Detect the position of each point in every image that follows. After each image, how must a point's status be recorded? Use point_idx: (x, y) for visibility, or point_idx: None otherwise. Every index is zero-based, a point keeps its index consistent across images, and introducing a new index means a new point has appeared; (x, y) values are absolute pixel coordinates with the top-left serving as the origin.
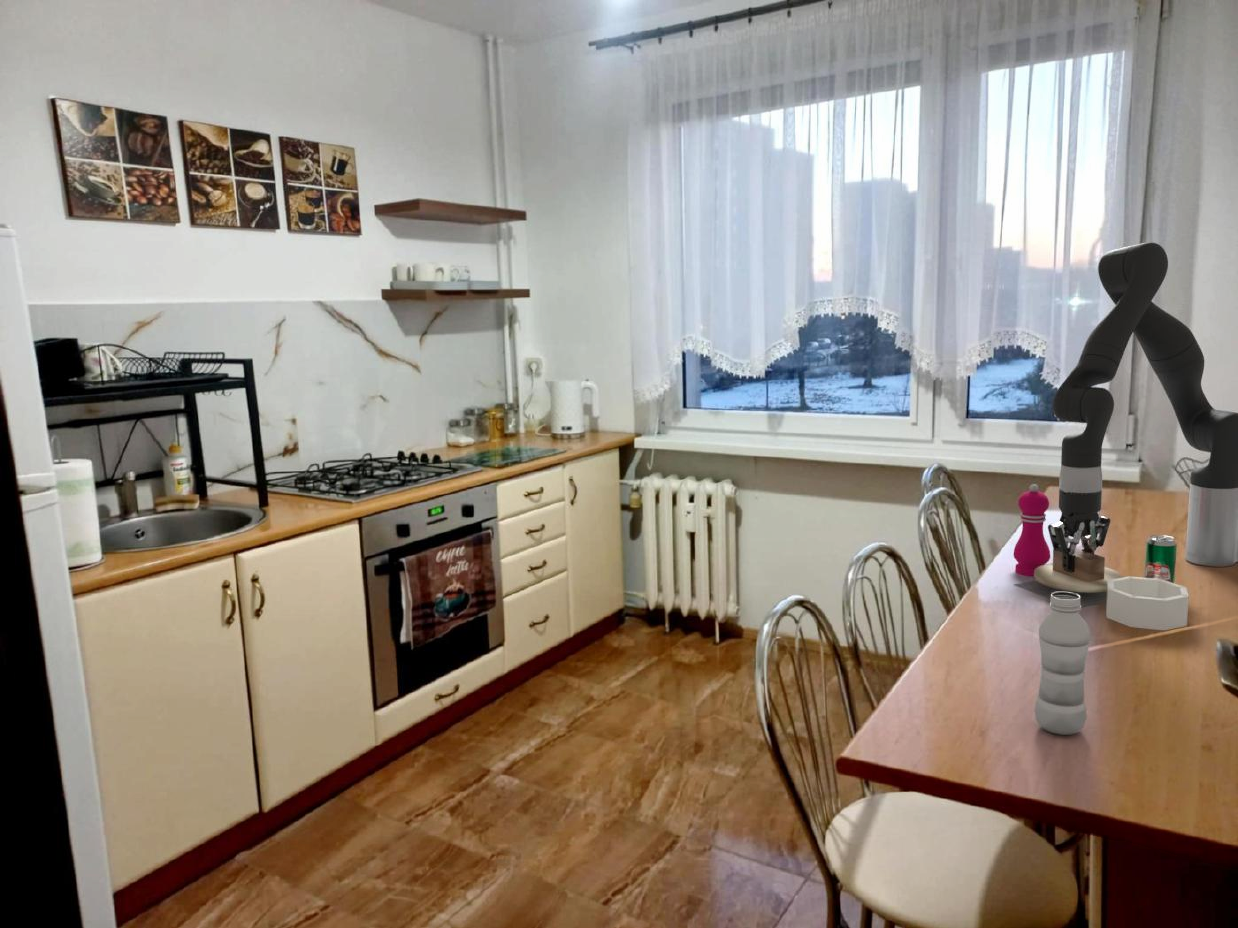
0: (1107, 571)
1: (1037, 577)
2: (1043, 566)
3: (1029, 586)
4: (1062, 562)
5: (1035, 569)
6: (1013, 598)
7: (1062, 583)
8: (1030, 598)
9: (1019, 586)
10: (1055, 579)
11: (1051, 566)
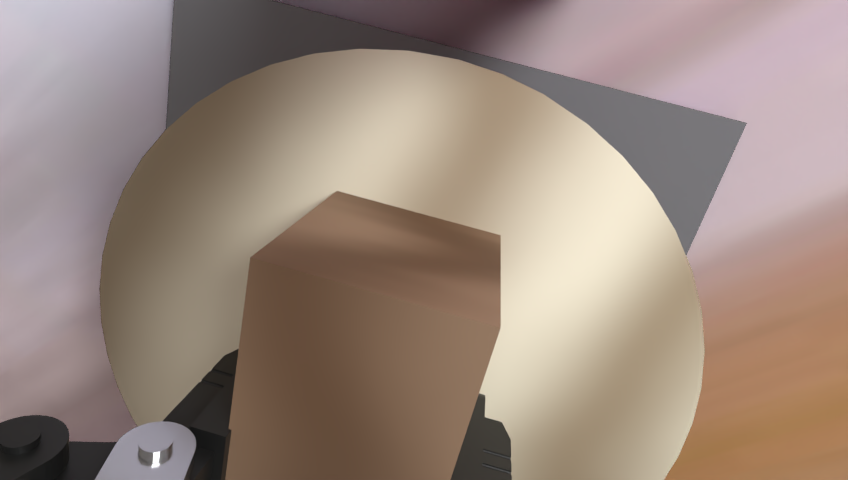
0: (588, 477)
1: (124, 197)
2: (362, 79)
3: (229, 79)
4: (207, 375)
5: (240, 82)
6: (31, 124)
7: (145, 385)
8: (113, 189)
9: (174, 34)
10: (172, 318)
11: (410, 131)
